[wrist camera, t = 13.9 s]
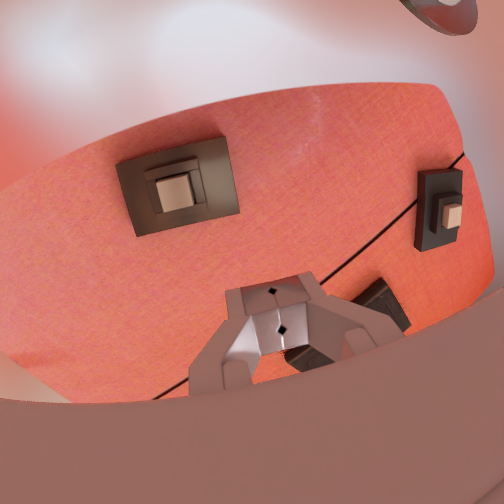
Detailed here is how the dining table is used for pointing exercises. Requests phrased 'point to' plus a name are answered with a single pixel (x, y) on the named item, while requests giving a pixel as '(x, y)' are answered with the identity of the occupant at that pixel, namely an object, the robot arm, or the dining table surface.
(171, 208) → the near key
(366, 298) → the hardcover book
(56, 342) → the dining table surface
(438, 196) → the far block
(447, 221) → the far key
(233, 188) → the near block
